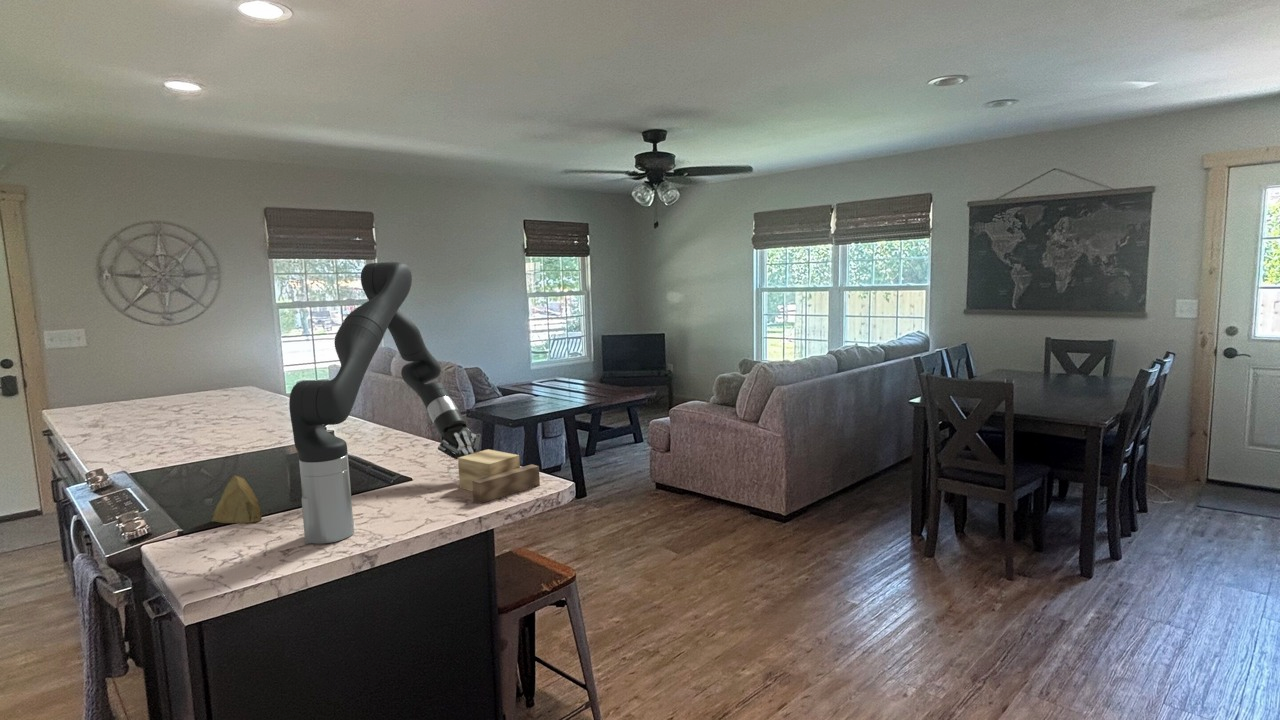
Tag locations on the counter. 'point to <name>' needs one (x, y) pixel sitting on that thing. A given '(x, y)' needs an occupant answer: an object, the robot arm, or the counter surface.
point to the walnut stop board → (505, 483)
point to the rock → (237, 504)
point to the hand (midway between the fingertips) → (474, 468)
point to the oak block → (484, 466)
